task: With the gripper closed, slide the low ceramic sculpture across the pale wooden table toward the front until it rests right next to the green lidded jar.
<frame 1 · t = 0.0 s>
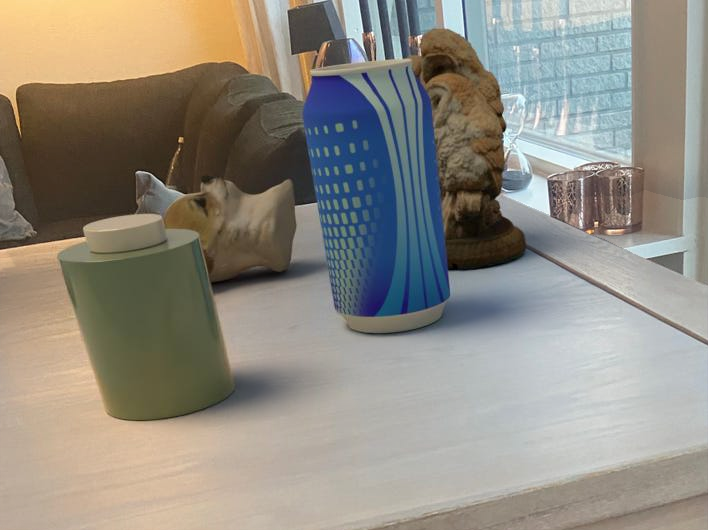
ceramic sculpture: (226, 281, 85), on the table
beer can: (395, 321, 70), on the table
green lidded jar: (170, 396, 60), on the table
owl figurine: (451, 251, 87), on the table
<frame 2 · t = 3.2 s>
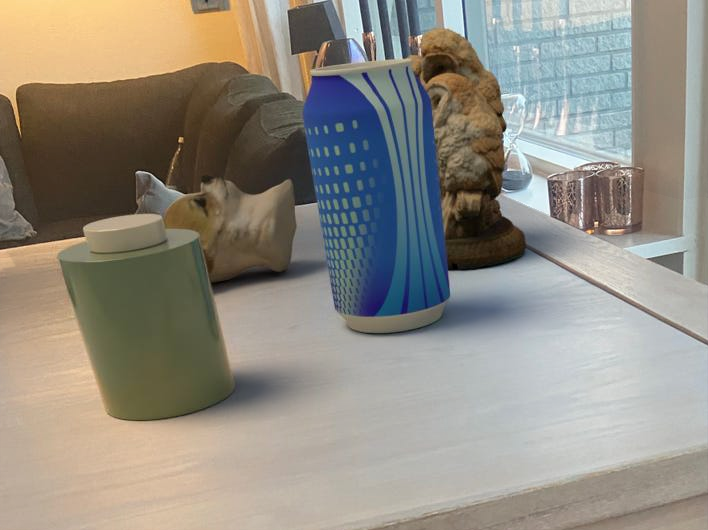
hand: (212, 12, 83), 20 cm above the table, tool pointing down, fingers closed
nothing on the table moved.
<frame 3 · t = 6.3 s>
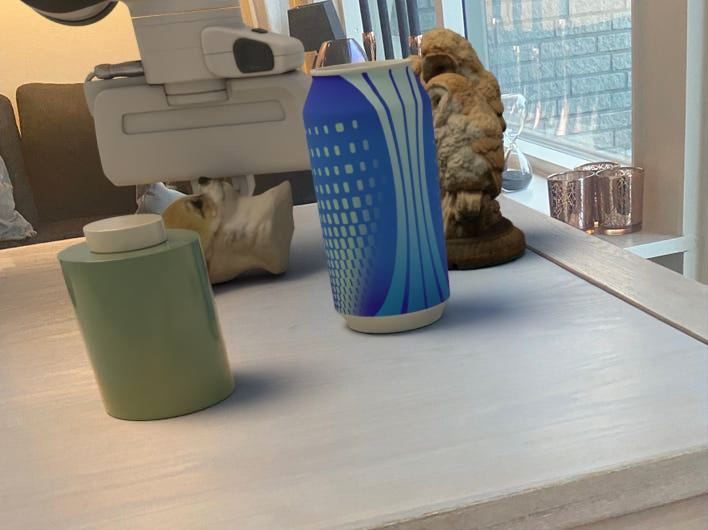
hand: (233, 230, 87), 3 cm above the table, tool pointing down, fingers closed
ceramic sculpture: (223, 283, 85), on the table, touching gripper
everything else where it was.
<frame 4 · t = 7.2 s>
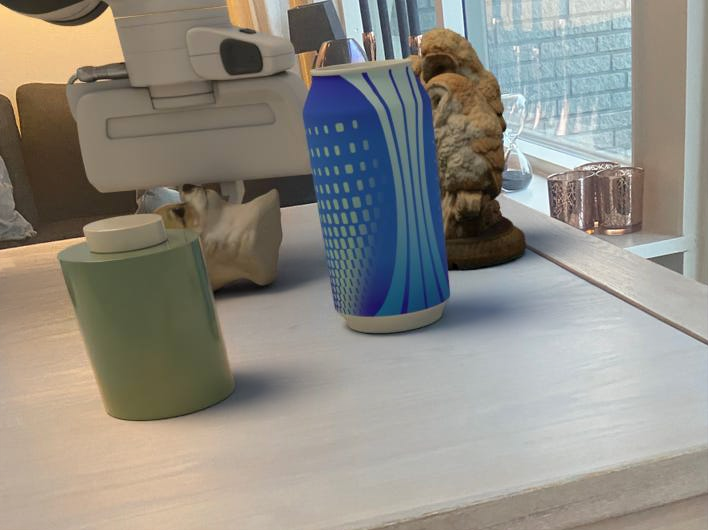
hand: (222, 238, 84), 3 cm above the table, tool pointing down, fingers closed, pressing on ceramic sculpture
ceramic sculpture: (209, 294, 82), on the table, touching gripper
everything else where it was.
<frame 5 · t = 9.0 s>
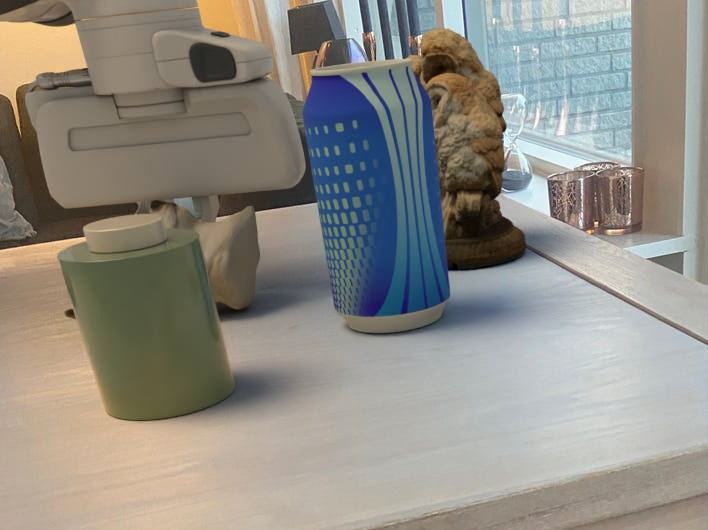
hand: (196, 256, 79), 3 cm above the table, tool pointing down, fingers closed, pressing on ceramic sculpture
ceramic sculpture: (181, 318, 76), on the table, touching gripper
everything else where it was.
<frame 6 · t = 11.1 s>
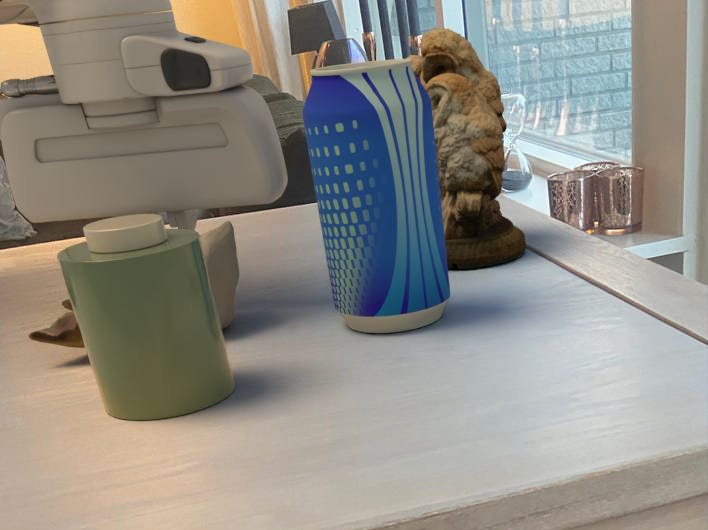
hand: (173, 274, 74), 3 cm above the table, tool pointing down, fingers closed
ceramic sculpture: (156, 339, 71), on the table
everything else where it was.
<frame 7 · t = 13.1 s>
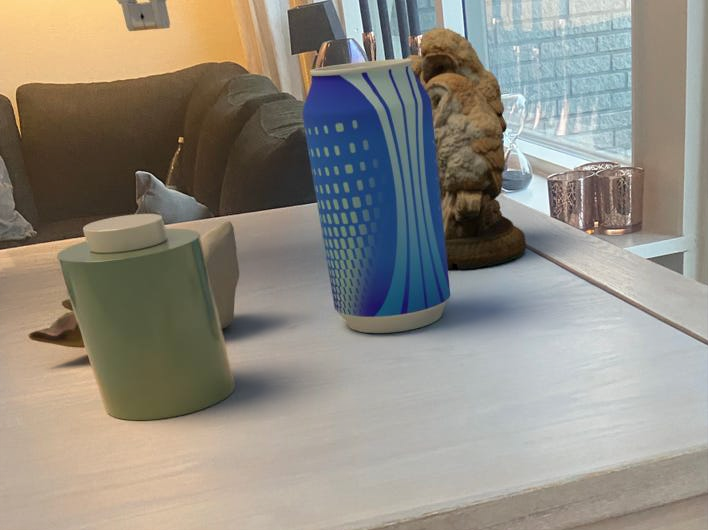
hand: (149, 29, 75), 19 cm above the table, tool pointing down, fingers closed
nothing on the table moved.
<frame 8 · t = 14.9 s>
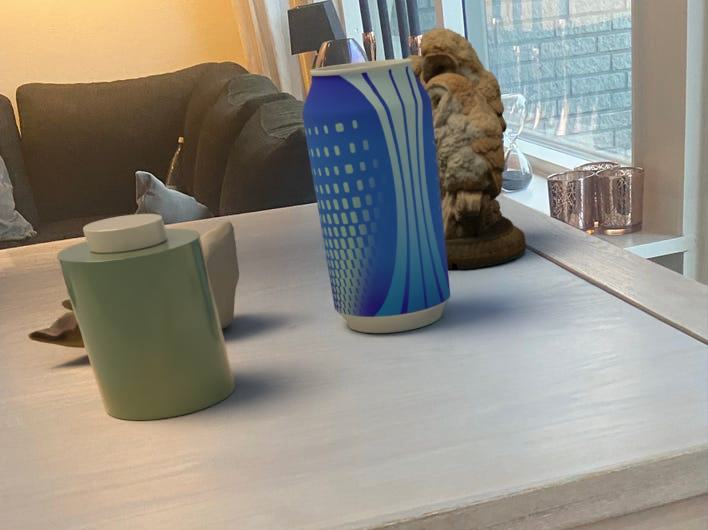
nothing on the table moved.
at the end: ceramic sculpture 14.6 cm from the green lidded jar (horizontally); ceramic sculpture moved 16.7 cm from its start; ceramic sculpture tilted 0° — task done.
